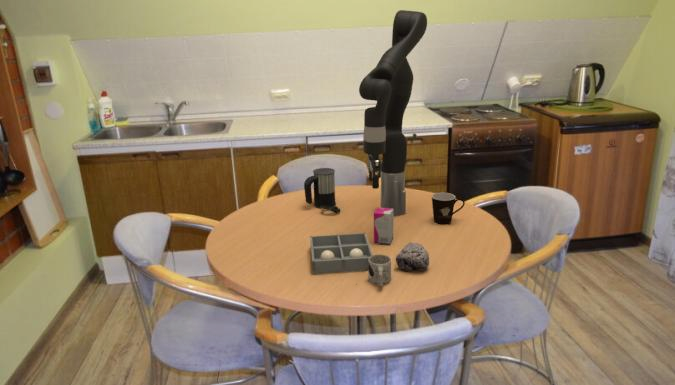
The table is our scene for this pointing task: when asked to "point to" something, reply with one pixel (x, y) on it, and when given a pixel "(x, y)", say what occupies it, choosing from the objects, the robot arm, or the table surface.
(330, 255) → the egg front right
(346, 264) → the grey divided tray
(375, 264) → the mug
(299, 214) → the table surface
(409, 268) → the pumice stone
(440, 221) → the coffee mug
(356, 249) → the egg front left
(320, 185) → the milk frother
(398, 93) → the robot arm
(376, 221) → the supplement box
